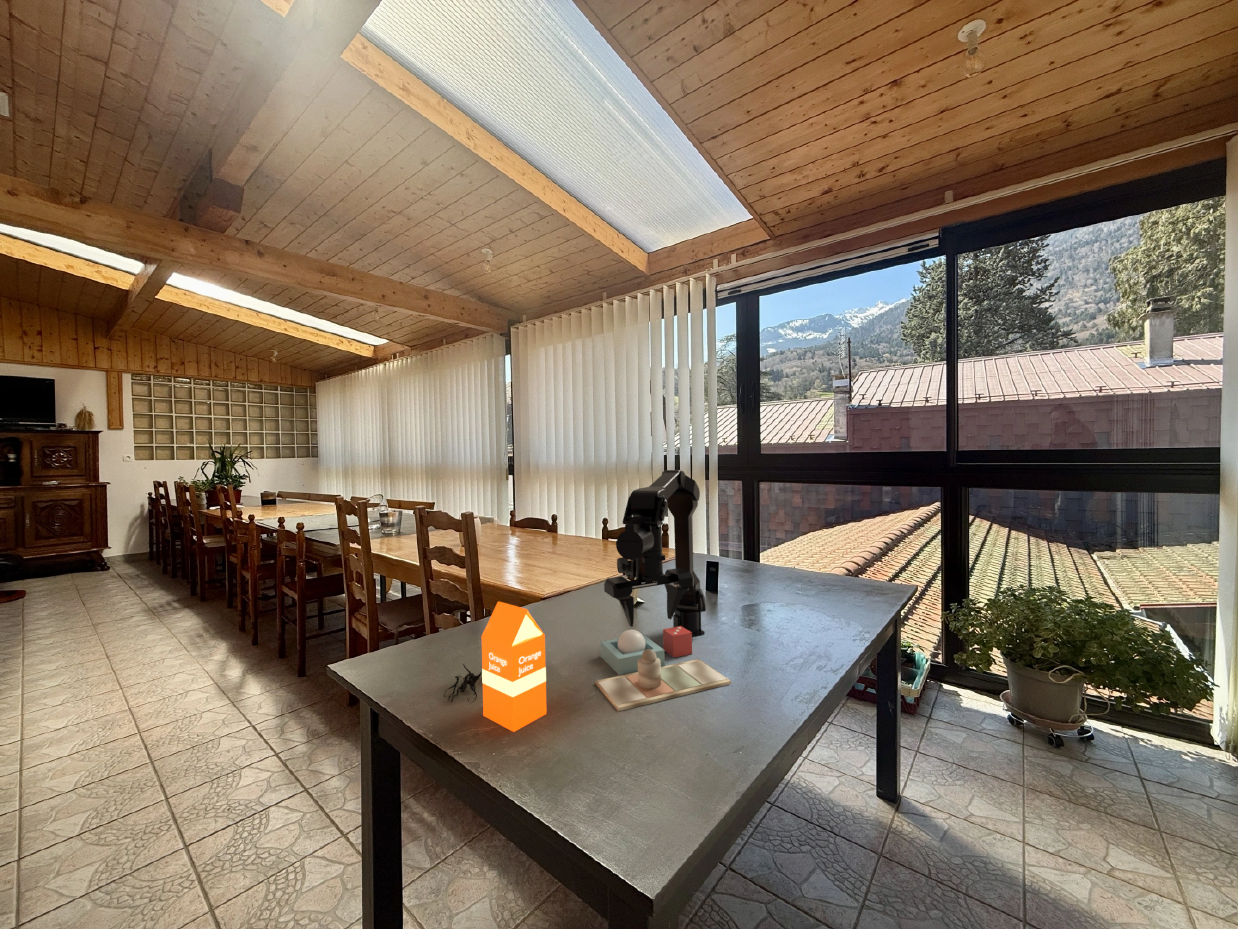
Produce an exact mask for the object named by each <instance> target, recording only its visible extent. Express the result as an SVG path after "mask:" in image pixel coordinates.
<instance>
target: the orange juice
mask: <svg viewBox="0 0 1238 929" xmlns="http://www.w3.org/2000/svg"><path fill="white" fill-rule="evenodd" d="M480 638H481V664H482V667H481V670H482V671H481V672H482V674H481V677H482V680H481V681H482V707H483V709H482V711H483V712H482V714H483V717H485V718H487V719H489V720H491V721H492V722H495V723H496V724H498V725H500V726H501V727H503V728H505V729H507V730H509V731H511V732H513V733H515V732H516V731H518V730H520V729H521V728H524V727H525V726H527V725H529V724H531V723H533V722H534V721H536V720H538V719H540V718H541V717H543V716H545V715H546V714H547V667H546V634H545V633H544V632H543V631H542V629H541V628H540V626H539V625H538V624H537V622H536V621H535V618H533V617H532V615H531V613H530V612H529V610H528V609H527V608H524V607H520V606H517V605H513V604H510V603H506V602H504V601H503V602H502V601H497V602H496V605H495V607H494V609H493V611H492V613H491V615H490V618H489V619H488V622H487V624H486V626H485V628H484V630H483V632H482V635H481V637H480Z"/></svg>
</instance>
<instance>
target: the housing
mask: <svg viewBox="0 0 1238 929" xmlns="http://www.w3.org/2000/svg"><path fill="white" fill-rule="evenodd" d="M641 634H642V635H643V637H644V639H645V643H646V646H645V650H646V649H651V650H653V651H654V652H655V653H656V658H659V659H660V661H661V667H664V666H666V664H665V662H666V660H665V651H664V649H663V647H661V646H660V645H658V644H657V643H655V642H654V641H653V640H651V639H650V638H649V637H648V636H646V635H645V634H643V633H641ZM618 639H619V637H618V638H611V639H607V640H602V641H600V644H599V645H600V657H601V658H602V659H603V661H605V662H606V664H608V666H610V668H612V670H614V672H616V673H617V675H618V676H621V675H626V674H630V673H635V672H638V659H639V658H641V657H642V653H643V652H644V651H645V650H644V651H639V652H634V653H629V654H624V655H623V654H622V653H621V652H620V651H619V650H618Z"/></svg>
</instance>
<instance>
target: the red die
mask: <svg viewBox="0 0 1238 929" xmlns="http://www.w3.org/2000/svg"><path fill="white" fill-rule="evenodd" d="M662 649H664V652H665V653H667V654H668V655H669V656H671V657H672V658H678V657H681V656H682V657H683V656H688V655H692V654H693V636H692V632H690V631H688V630H687V629H685V628H683V627H682V626H678V627H673V626H672V627H668V628H663V629H662Z"/></svg>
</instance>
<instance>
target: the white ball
mask: <svg viewBox="0 0 1238 929" xmlns="http://www.w3.org/2000/svg"><path fill="white" fill-rule="evenodd" d="M642 634H643V633H641V632H640V631H638V630H636V629H627V630H625V631H623V632H622V633H621V634H620V636H619V637H618V638H619V639H618V650H619V651H620V652H621V653H622V654H623V655H624V654H629V653H634V652H639V651H644V650H645V646H646V643H645V639H644V637H643V635H644V634H643V635H642Z"/></svg>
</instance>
